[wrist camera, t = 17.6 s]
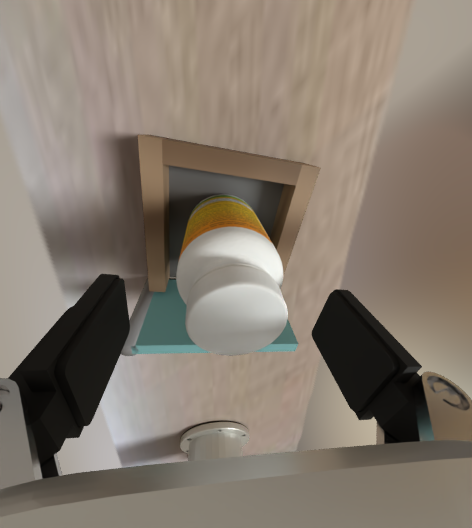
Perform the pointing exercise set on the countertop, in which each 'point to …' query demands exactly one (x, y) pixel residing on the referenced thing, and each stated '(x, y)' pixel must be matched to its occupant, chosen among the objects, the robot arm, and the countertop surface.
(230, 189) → the bay
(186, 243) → the supplement bottle
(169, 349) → the gate
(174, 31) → the countertop surface
